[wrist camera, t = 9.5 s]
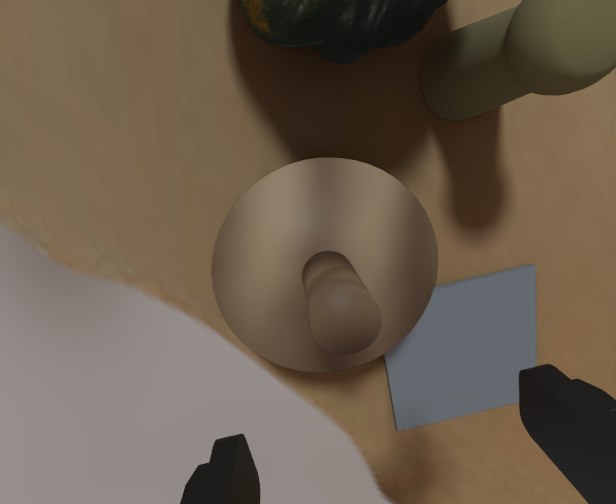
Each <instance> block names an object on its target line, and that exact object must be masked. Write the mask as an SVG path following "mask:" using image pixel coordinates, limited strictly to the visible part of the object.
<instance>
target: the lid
mask: <svg viewBox="0 0 616 504" xmlns="http://www.w3.org/2000/svg"><path fill="white" fill-rule="evenodd" d="M437 270H438V249H437V243H436V237H435V234H434V231H433V227H432V224H431V222H430V220H429V218H428V216H427V213H426V211H425V210H424V208H423V207H422V205H421V204H420V202H419V201H418V199H417V198H416V197H415V196H414V195H413V193H412V192H411V191H410V190H409V189H408V188H407V187H406V186H405V185H403V184H402V183H401V182H400V181H399V180H397V179H396V178H395V177H393V176H391V175H390V174H388V173H387V172H385V171H383V170H381V169H379V168H377V167H374V166H372V165H370V164H367V163H363V162H359V161H356V160H351V159H343V158H335V157H327V158H312V159H306V160H301V161H298V162H294V163H291V164H287V165H285V166H283V167H281V168H279V169H276V170H274V171H272V172H271V173H269V174H267V175H266V176H264V177H263V178H261V179H260V180H258V181H257V182H256V183H255V184H254V185H252V186H251V187H250V188H249V189H248V190H247V191H246V192H245V193H244V194H243V195H242V196H241V197H240V198H239V199H238V201H237V202H236V203H235V204H234V206H233V207H232V209H231V210H230V212H229V213H228V215H227V216H226V218H225V220H224V222H223V224H222V226H221V228H220V230H219V233H218V236H217V239H216V242H215V246H214V252H213V257H212V282H213V289H214V293H215V297H216V301H217V304H218V306H219V309H220V311H221V314H222V316H223V317H224V319H225V321H226V322H227V324H228V326H229V327H230V329H231V330H232V331H233V332H234V334H235V335H236V336H237V337H238V338H239V339H240V340H241V341H242V342H243V343H244V344H245V345H246V346H247V347H248V348H250V349H251V350H252V351H254V352H255V353H256V354H258V355H259V356H261V357H263V358H265V359H266V360H268V361H270V362H273V363H275V364H277V365H280V366H282V367H286V368H289V369H293V370H298V371H304V372H319V373H322V372H335V371H341V370H346V369H350V368H354V367H357V366H360V365H363V364H365V363H367V362H370V361H372V360H374V359H376V358H378V357H380V356H381V355H383V354H385V353H386V352H388V351H389V350H390V349H392V348H393V347H395V346H396V345H397V344H398V343H399V342H400V341H402V340H403V339H404V338H405V337H406V336H407V335H408V334H409V332H410V331H411V330H412V329H413V328H414V327H415V325H416V324H417V322H418V321H419V320H420V318H421V317H422V315H423V313H424V311H425V309H426V308H427V306H428V304H429V301H430V299H431V296H432V293H433V291H434V287H435V282H436V278H437Z"/></svg>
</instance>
